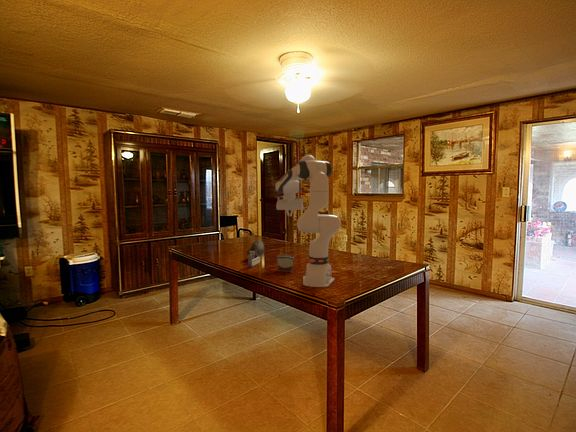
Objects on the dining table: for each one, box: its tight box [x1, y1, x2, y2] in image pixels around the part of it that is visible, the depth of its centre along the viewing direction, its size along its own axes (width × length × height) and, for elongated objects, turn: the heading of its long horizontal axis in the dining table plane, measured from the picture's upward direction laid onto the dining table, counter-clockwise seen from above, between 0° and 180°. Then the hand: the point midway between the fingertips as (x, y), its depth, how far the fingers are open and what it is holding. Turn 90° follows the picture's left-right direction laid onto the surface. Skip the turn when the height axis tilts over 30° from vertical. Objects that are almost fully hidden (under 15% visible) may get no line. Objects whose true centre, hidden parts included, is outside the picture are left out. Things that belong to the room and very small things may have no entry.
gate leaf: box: [252, 257, 261, 267], centre depth 221 cm, size 14×1×4 cm, turn 161°
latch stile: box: [250, 251, 255, 260], centre depth 227 cm, size 2×3×9 cm
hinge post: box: [247, 254, 253, 269], centre depth 213 cm, size 3×3×10 cm
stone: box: [246, 239, 265, 258], centre depth 241 cm, size 15×10×15 cm
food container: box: [275, 254, 295, 273], centre depth 206 cm, size 12×6×10 cm, turn 74°
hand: (289, 216), depth 231 cm, fingers closed
